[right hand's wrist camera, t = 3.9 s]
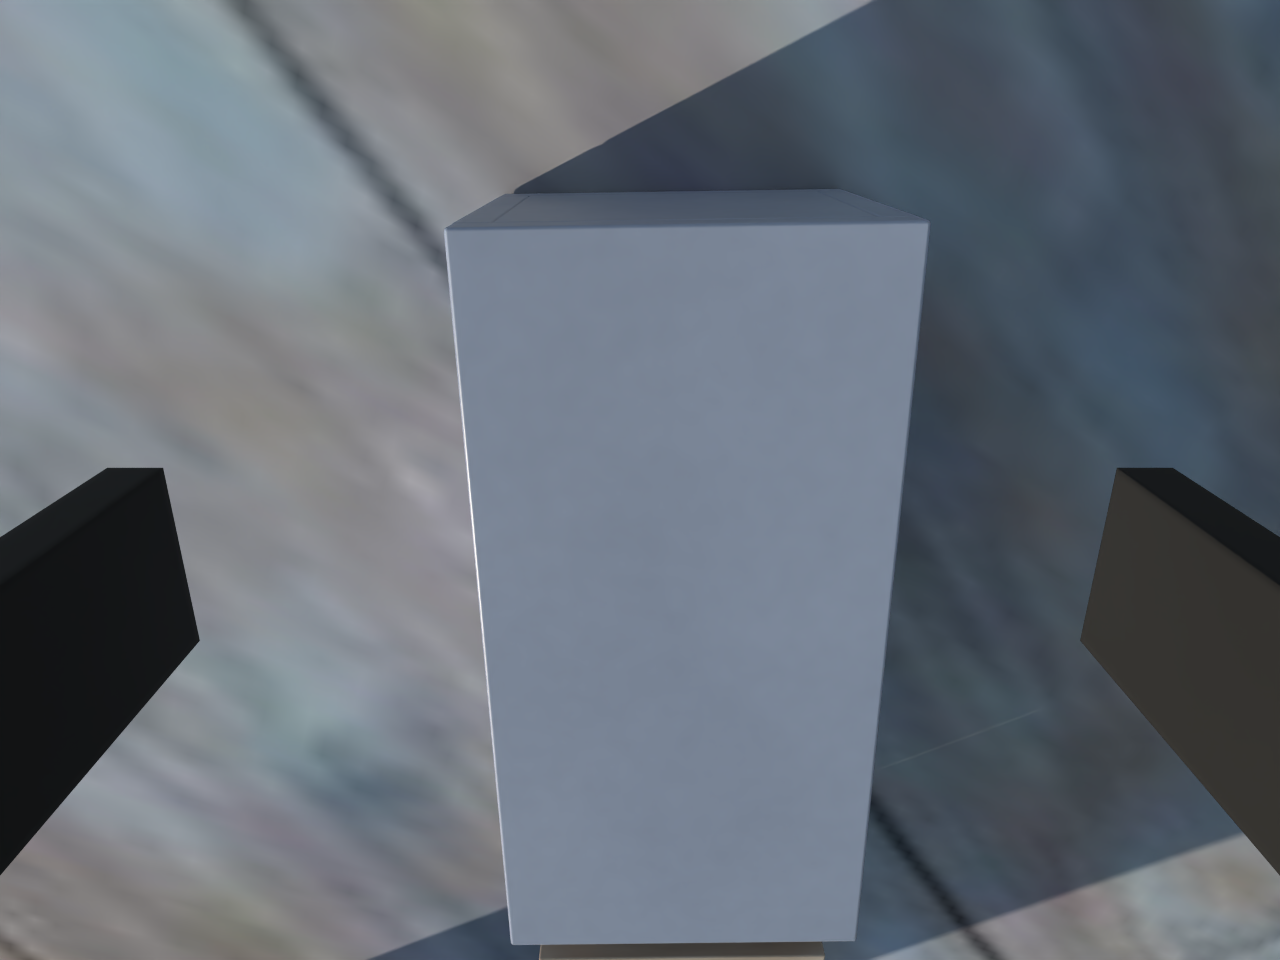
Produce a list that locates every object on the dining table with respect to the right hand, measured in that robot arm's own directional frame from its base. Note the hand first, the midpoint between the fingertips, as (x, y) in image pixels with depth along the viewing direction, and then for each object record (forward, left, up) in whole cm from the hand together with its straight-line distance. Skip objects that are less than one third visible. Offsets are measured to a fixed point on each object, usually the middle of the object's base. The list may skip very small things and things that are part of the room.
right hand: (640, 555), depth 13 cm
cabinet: (+5, +4, -16) cm, 17 cm away
